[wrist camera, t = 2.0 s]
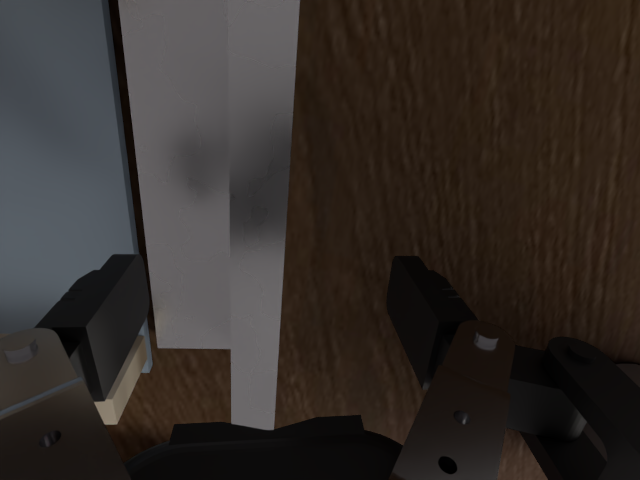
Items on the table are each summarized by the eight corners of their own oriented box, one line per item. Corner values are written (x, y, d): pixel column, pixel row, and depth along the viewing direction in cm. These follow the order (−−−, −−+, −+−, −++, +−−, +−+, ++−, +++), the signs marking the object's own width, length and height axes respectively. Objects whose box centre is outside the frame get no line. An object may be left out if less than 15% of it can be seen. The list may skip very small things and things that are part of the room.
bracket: (128, -21, 14) (-1, -89, 7) (294, 0, 14) (302, -47, 8) (164, 332, 20) (113, 450, 14) (275, 334, 21) (272, 446, 15)
